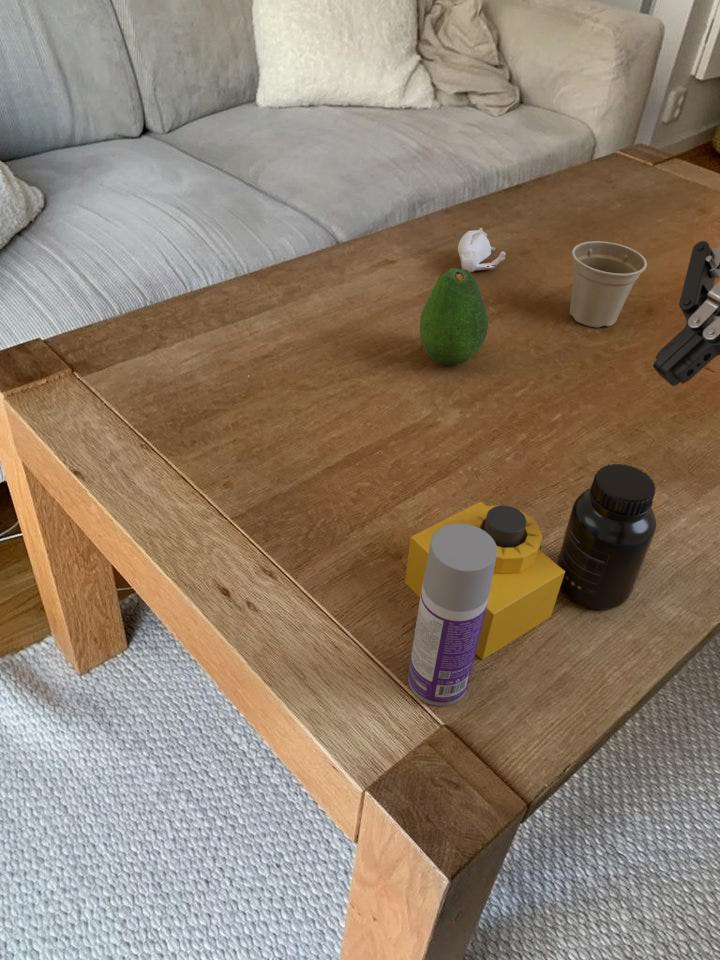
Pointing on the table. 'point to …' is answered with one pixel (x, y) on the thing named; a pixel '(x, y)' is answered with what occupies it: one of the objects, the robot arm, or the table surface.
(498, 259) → the figurine
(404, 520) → the table surface
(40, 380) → the table surface
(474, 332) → the fruit
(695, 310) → the robot arm
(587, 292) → the flower pot
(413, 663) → the container
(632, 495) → the supplement bottle
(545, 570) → the yellow knob cube
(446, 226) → the table surface
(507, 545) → the dark grey push button
